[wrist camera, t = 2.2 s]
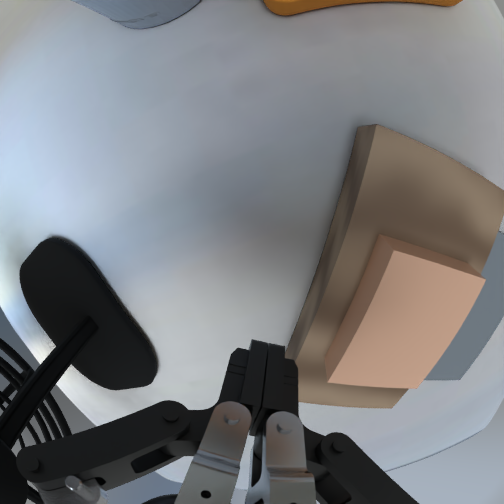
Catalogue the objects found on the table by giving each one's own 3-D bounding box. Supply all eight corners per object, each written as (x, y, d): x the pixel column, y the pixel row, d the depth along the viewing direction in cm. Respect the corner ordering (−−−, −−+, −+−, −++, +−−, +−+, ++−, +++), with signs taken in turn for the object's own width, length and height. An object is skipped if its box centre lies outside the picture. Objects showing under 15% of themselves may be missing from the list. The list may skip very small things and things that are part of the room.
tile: (379, 233, 15) (393, 250, 12) (467, 263, 15) (486, 279, 12) (324, 357, 19) (327, 382, 16) (408, 367, 19) (416, 388, 16)
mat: (470, 216, 17) (473, 218, 16) (530, 250, 17) (533, 252, 16) (388, 374, 24) (389, 378, 24) (458, 376, 24) (459, 379, 23)
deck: (357, 127, 16) (376, 124, 12) (479, 183, 16) (509, 194, 12) (279, 367, 25) (277, 398, 21) (383, 380, 25) (391, 408, 21)
